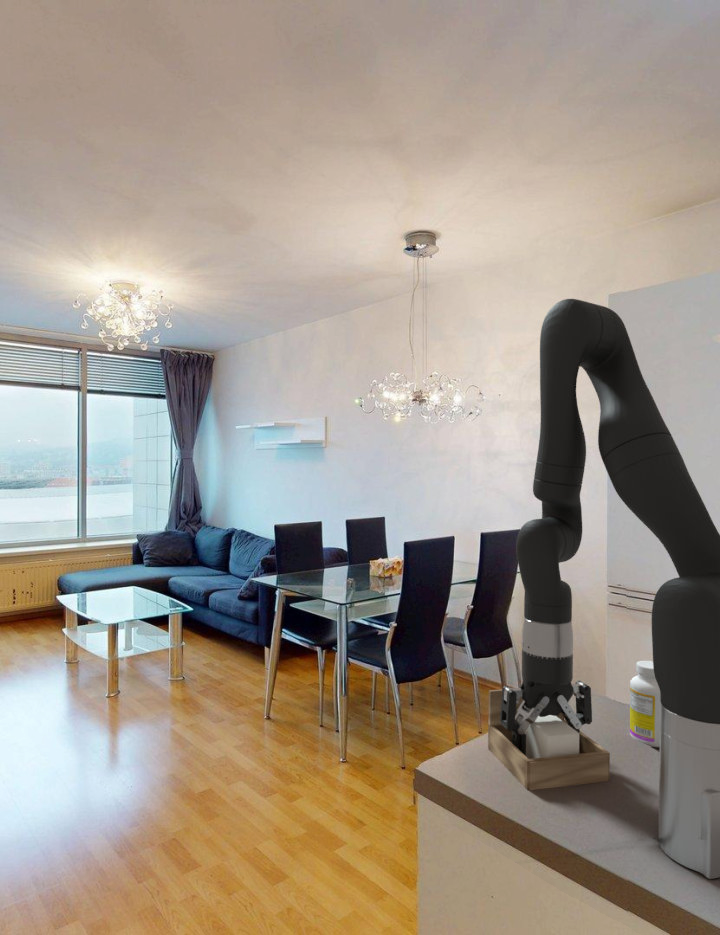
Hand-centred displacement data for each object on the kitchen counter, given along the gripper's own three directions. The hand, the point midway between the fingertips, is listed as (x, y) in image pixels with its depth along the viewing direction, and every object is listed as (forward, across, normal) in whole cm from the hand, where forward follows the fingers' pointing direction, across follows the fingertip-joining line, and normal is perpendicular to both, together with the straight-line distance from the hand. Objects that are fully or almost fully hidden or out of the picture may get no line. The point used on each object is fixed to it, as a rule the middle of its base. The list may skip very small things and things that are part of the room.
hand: (545, 753), depth 95 cm
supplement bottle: (+2, +22, +5) cm, 23 cm away
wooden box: (+2, 0, 0) cm, 2 cm away
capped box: (+2, 0, 0) cm, 2 cm away
